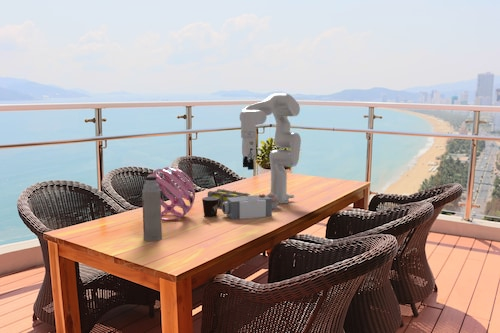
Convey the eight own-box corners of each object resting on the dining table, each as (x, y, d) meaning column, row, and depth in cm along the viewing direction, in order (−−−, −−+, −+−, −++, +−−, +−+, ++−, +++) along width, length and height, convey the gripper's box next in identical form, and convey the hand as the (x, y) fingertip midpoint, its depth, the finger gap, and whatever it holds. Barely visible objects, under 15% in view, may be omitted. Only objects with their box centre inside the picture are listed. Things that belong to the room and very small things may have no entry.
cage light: (218, 187, 287) (257, 193, 268) (218, 200, 288) (257, 207, 270) (201, 191, 276) (240, 198, 257) (201, 204, 277) (240, 212, 258)
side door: (265, 217, 245) (265, 194, 243) (266, 218, 244) (266, 194, 242) (238, 220, 241) (238, 196, 239) (239, 220, 239) (239, 196, 237)
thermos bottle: (142, 241, 206) (140, 178, 201) (145, 236, 213) (143, 175, 209) (160, 241, 206) (159, 178, 202) (162, 235, 214) (161, 175, 210)
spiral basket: (139, 189, 221) (179, 153, 234) (122, 193, 245) (159, 160, 258) (177, 232, 229) (213, 195, 241) (157, 231, 252) (191, 198, 265)
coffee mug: (206, 219, 241) (205, 200, 240) (199, 216, 249) (199, 197, 248) (226, 217, 247) (226, 198, 245) (219, 213, 254) (219, 195, 253)
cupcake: (270, 206, 271) (270, 189, 269) (282, 209, 264) (282, 191, 263) (259, 209, 264) (259, 191, 263) (271, 212, 258) (271, 194, 256)
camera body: (265, 212, 256) (265, 193, 254) (271, 217, 246) (272, 197, 245) (221, 216, 248) (220, 196, 247) (226, 221, 239) (225, 200, 237)
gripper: (260, 136, 235) (260, 170, 238) (249, 133, 252) (249, 165, 254) (246, 136, 233) (246, 171, 236) (236, 133, 249) (236, 166, 252)
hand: (248, 168), depth 245 cm, fingers open, 7 cm apart
